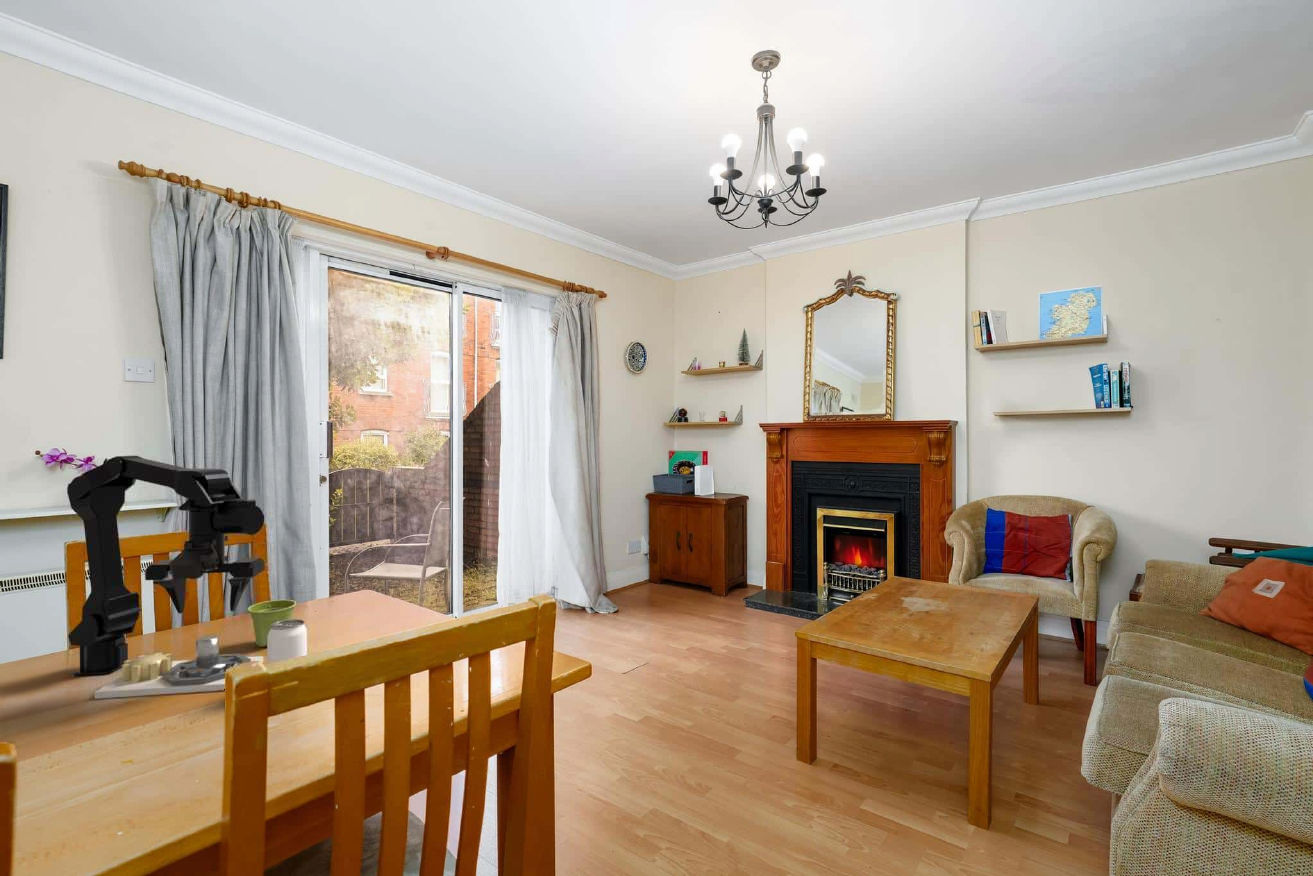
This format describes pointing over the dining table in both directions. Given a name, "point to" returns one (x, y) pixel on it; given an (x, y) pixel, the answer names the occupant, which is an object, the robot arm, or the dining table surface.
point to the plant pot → (269, 617)
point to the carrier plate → (163, 677)
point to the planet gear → (206, 659)
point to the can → (286, 640)
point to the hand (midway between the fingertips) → (207, 611)
